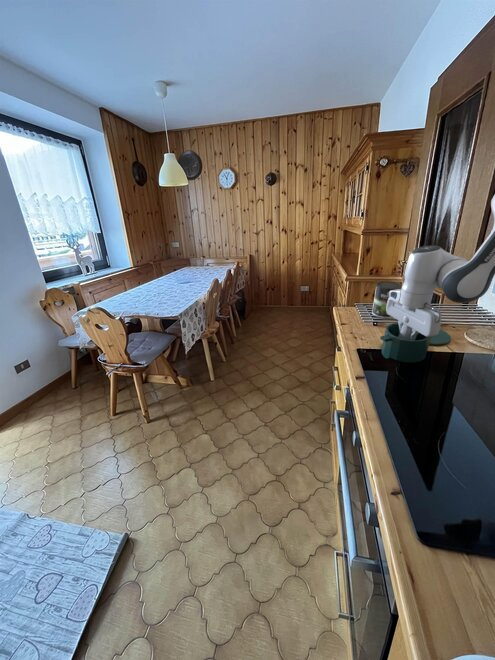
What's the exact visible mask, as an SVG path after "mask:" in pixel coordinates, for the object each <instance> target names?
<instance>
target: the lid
mask: <svg viewBox="0 0 495 660" xmlns="http://www.w3.org/2000/svg"><path fill="white" fill-rule="evenodd" d="M451 340H452V336H451V335H450V334H449V332H446V331H445V330H442V329H440V331H439V334H438V335H436V336H432V337H431V339H430V343H429V345H433V346H434V345H435V346H439V345H441V346H442V345H446V344H449V343H450V342H451Z"/></svg>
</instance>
